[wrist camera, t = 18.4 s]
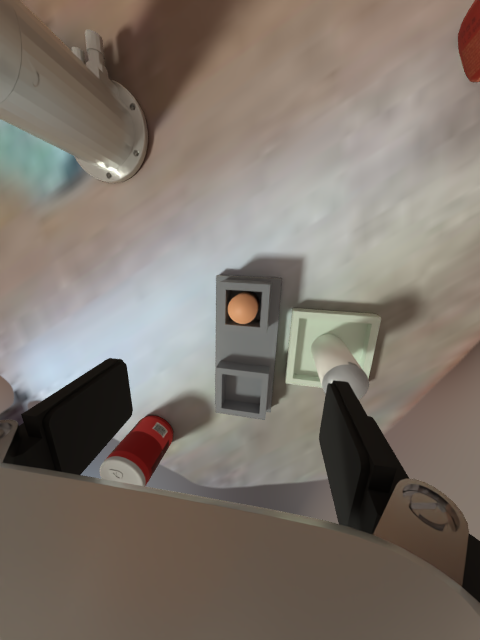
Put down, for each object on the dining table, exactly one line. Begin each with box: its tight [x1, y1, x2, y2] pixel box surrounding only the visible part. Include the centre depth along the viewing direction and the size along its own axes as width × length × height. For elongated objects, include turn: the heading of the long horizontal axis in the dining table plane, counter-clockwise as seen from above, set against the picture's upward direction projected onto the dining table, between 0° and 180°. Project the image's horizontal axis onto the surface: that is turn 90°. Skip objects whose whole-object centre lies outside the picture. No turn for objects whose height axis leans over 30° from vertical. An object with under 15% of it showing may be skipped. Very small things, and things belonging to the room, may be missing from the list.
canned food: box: [100, 416, 173, 486], centre depth 42 cm, size 8×8×11 cm
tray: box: [286, 308, 381, 388], centre depth 35 cm, size 12×12×2 cm
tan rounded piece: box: [228, 291, 260, 324], centre depth 32 cm, size 4×4×4 cm
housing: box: [215, 275, 282, 420], centre depth 36 cm, size 23×10×6 cm, turn 178°
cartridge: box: [311, 334, 369, 400], centre depth 30 cm, size 5×5×10 cm
